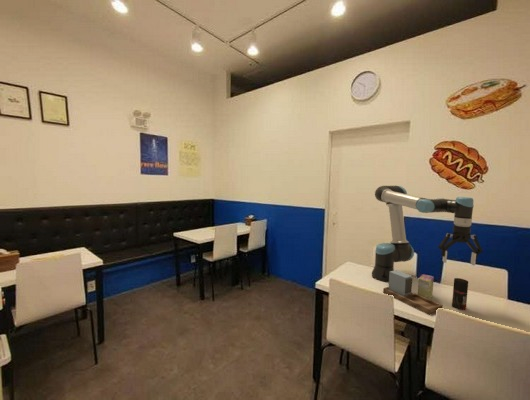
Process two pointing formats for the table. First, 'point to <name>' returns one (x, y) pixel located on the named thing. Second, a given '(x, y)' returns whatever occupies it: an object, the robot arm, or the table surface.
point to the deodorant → (460, 294)
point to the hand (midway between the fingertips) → (458, 263)
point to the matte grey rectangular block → (400, 283)
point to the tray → (416, 301)
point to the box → (425, 286)
